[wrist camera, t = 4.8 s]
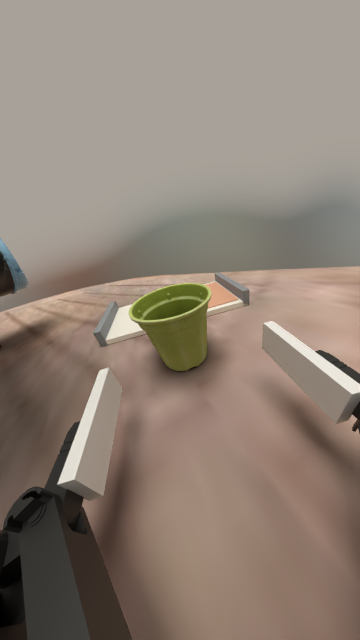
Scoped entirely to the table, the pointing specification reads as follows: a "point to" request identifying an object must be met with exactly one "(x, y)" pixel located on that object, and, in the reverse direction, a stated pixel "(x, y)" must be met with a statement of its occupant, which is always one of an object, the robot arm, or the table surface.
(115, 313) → the slot board
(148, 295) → the plant pot
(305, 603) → the table surface
